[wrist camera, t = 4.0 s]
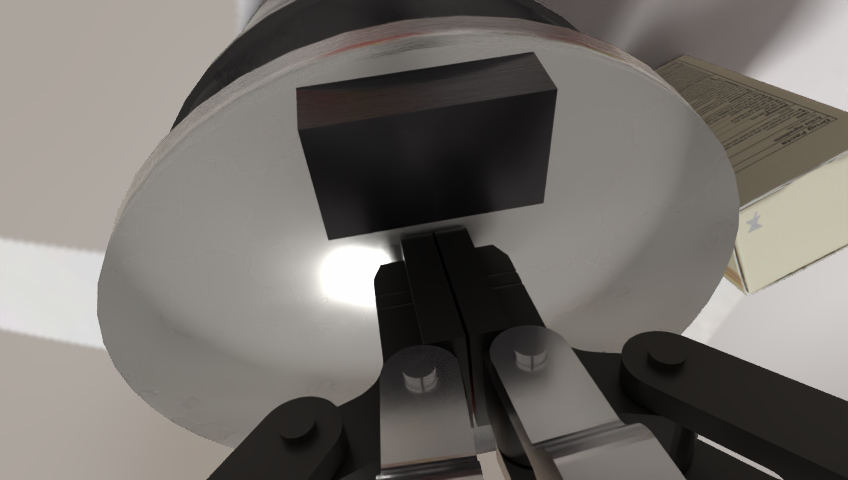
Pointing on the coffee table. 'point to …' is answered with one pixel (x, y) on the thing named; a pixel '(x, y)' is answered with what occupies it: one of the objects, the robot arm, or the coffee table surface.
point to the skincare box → (773, 169)
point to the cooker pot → (335, 30)
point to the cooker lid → (405, 209)
